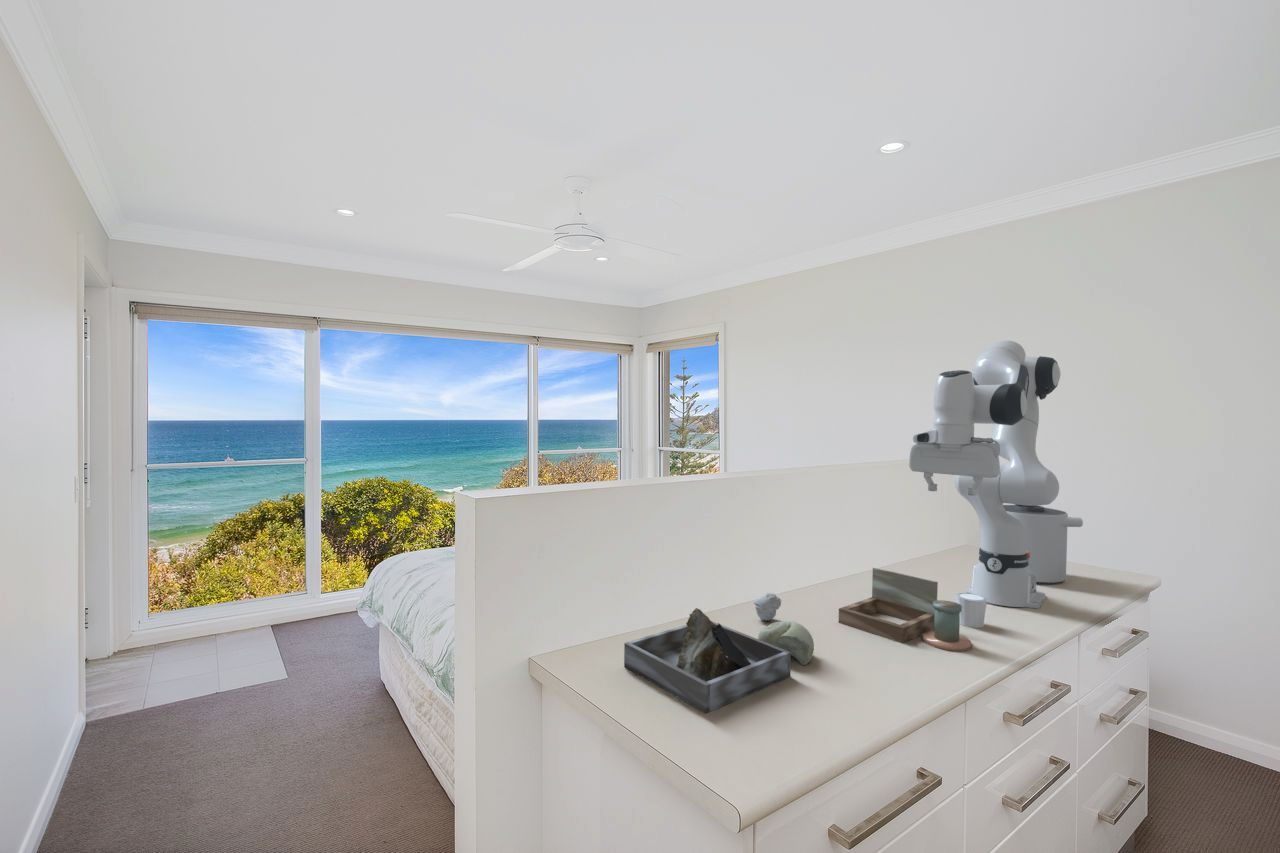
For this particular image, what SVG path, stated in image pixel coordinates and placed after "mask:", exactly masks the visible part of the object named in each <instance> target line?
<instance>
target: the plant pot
mask: <svg viewBox="0 0 1280 853" xmlns="http://www.w3.org/2000/svg"><path fill="white" fill-rule="evenodd" d="M933 608H934V609H935V622H934V629H933V630H934V637H935V638H936V639H938V640H940V641H944V642H950V643H955V642H959V635H960V627H961V626H960V625H961V624H960V612H961V611H962V606H961V605H960V604H958V603H957V602H955V601H952V600H951V601H950V600H943V599H942V600H941V599H940V600H938V599H937V601H934V602H933Z"/></svg>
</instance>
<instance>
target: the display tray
mask: <svg viewBox="0 0 1280 853" xmlns="http://www.w3.org/2000/svg"><path fill="white" fill-rule="evenodd" d="M710 621H712V620H710ZM712 622H713V623H714V624H715V625H716V626H717V625H718V623H719V622H716V621H712ZM719 624H720V625H721V626H722V627H723V629H724V630H725V632H726V634H727V635H728V636H729V638H730V640H731V641H732V642H733V644H734V645H735V646H736V647H737V648H738V649H739V650H740V651H741V652H742V653H743V654H744V655H745V656H746V658H747V659H748V661H749V662H750V663H751V665H749V666H746V667H743V668H741V669H738V670H736V671H733V672H731V673H728V674H725V675H723V676H720V677H718V678H715V679H712V680H710V681H707V682H705V681H703V680H701V679H699V678H697V677H696V676H694V675H692V674H690V673H688V672H686V671H684V670H682V669H680V668H678V667H676V665H677V664H678V658H679V656H680V654H681V652H682V646H683V644H684V643H685V641H684V639H685V637H686V634H687V633H688V632H687V628H688V627H687V624H684V625H682V626H678V627H674V628H672V629H668V630H664V631H660V632H657V633H655V634H654V633H653V634H650V635H647V636H644V637H641V638H637V639H633V640H631V641H627V642H624V646H623V647H624V651H623V652H624V653H623V654H624V655H623V656H624V658H623V659H624V660H623V661H624V662H623V664H624V665H623V666H624V668H626V669H627V670H628V671H631V672H632V673H634V674H636V675H638V676H639V677H642V678H643V679H645V680H646V681H648V682H650V683H651V684H654V685H655V686H656V687H659V688H660V689H663V691H666V692H668V693H670V694H671V695H673V696H674V697H676V698H678V699H680V700H682V701H683V702H685V703H687V704H688V705H690V706H692V707H694V708H695V709H697V710H699V711H701V712H702V713H704V714H709V713H710V712H712V711H715V710H717V709H719V708H722V707H724V706H727V705H728V704H731V703H733V702H735V701H738V700H740V699H742V698H745V697H747V696H750V695H752V694H754V693H756V692H758V691H761V690H764V689H765V688H768V687H770V686H773V685H775V684H777V683H779V682H781V681H785V680H786V679H789V678H790V677H791V670H792V668H791V667H792V666H791V665H792V664H791V662H792V660H791V659H792V655H791V652H789V651H786V650H784V649H781V648H779V647H776V646H774V645H771V644H769V643H766V642H764V641H761V640H759V639H758V638H755V637H753V636H751V635H748V634H745V633H743V632H741V631H739V630H737V629H733V628H730V627H729V626H725V625H723V624H721V623H719ZM718 627H719V626H718Z"/></svg>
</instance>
